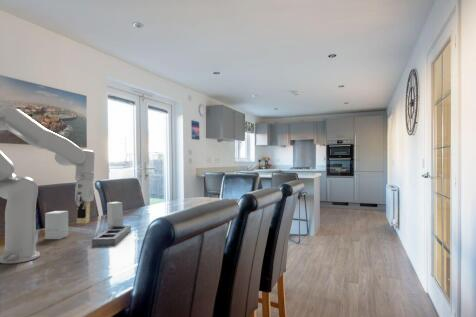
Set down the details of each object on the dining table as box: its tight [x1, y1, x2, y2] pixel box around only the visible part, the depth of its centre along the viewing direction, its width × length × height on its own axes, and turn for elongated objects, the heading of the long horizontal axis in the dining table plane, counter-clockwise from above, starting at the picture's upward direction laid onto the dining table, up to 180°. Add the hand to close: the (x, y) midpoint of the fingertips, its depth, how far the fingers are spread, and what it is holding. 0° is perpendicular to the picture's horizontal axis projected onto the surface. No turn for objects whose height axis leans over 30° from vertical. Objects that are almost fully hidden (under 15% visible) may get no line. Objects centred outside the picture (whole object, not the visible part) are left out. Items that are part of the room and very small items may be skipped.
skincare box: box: [106, 201, 124, 229], centre depth 166 cm, size 8×6×15 cm
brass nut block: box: [76, 201, 91, 224], centre depth 136 cm, size 4×4×9 cm
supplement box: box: [44, 210, 69, 240], centre depth 148 cm, size 7×7×13 cm
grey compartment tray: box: [91, 225, 132, 247], centre depth 146 cm, size 28×10×3 cm, turn 6°
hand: (83, 216), depth 136 cm, fingers closed on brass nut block, 4 cm apart
